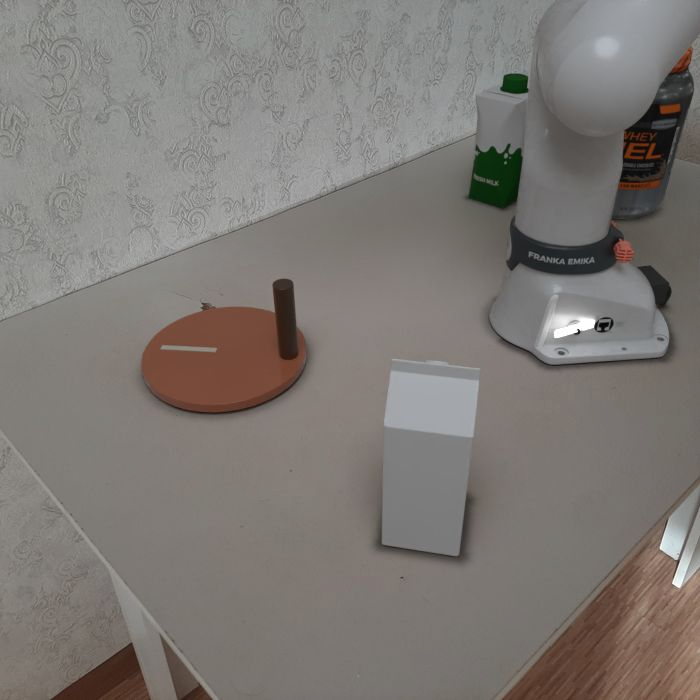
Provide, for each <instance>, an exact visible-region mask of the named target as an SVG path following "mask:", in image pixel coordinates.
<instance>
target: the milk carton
mask: <svg viewBox="0 0 700 700" xmlns="http://www.w3.org/2000/svg"><path fill="white" fill-rule="evenodd" d="M480 379H481V368H479V367H470V366H461V365H453V364H451V363H450V362H447V361H443V360H442V361H441V360H433V359H426V360H425V361H417V360H409V359H398V358H391V359H390V373H389V381H388V390H387V395H386V404H385V411H384V419H383V435H382V436H383V441H382V442H383V443H382V444H383V445H382V446H383V447H382V492H381V493H382V496H381V500H382V501H381V545H383V546H388V547H393V548H399V549H406V550H412V551H418V552H419V551H420V552H425V553H432V554H438V555H444V556H453V557H458V556H459V555H460V552H461V543H462V535H463V525H464V518H465V509H466V502H467V501H466V500H467V494H468V493H467V491H468V484H469V476H470V469H471V461H472V460H471V459H472V453H473V444H474V434H475V425H476V417H477V407H478V397H479V387H480Z"/></svg>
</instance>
